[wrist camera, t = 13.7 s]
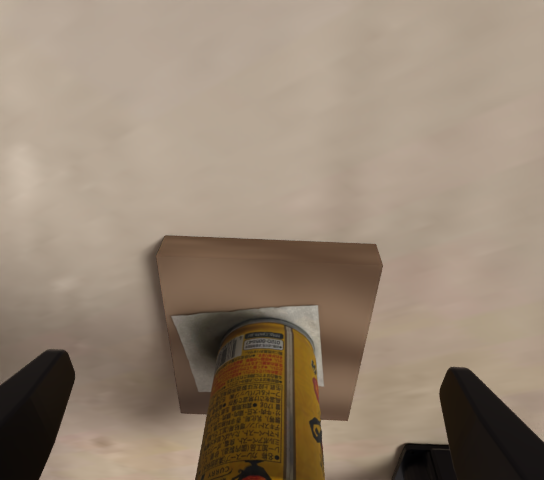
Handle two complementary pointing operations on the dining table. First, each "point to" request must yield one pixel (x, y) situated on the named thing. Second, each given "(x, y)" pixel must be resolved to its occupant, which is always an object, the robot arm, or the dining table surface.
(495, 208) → the dining table surface
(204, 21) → the dining table surface
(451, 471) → the robot arm
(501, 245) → the dining table surface
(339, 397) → the stand
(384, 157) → the dining table surface
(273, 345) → the condiment
